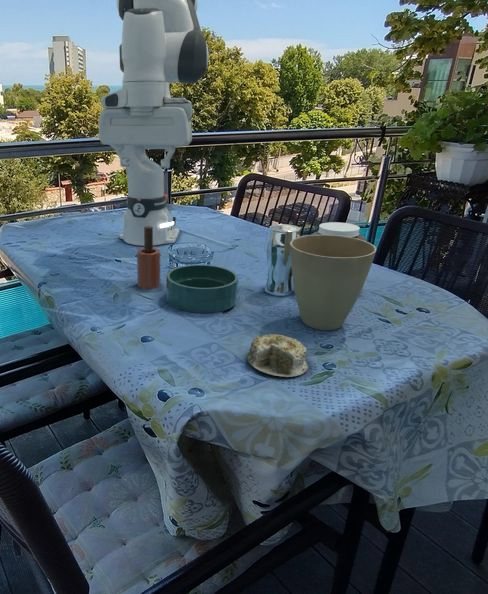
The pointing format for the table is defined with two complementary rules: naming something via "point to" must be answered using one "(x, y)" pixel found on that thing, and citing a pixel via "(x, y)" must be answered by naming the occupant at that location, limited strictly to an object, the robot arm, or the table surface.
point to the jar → (339, 230)
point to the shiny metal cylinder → (280, 259)
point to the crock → (148, 269)
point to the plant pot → (328, 277)
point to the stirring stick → (148, 239)
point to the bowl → (202, 288)
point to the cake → (278, 355)
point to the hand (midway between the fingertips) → (144, 167)
